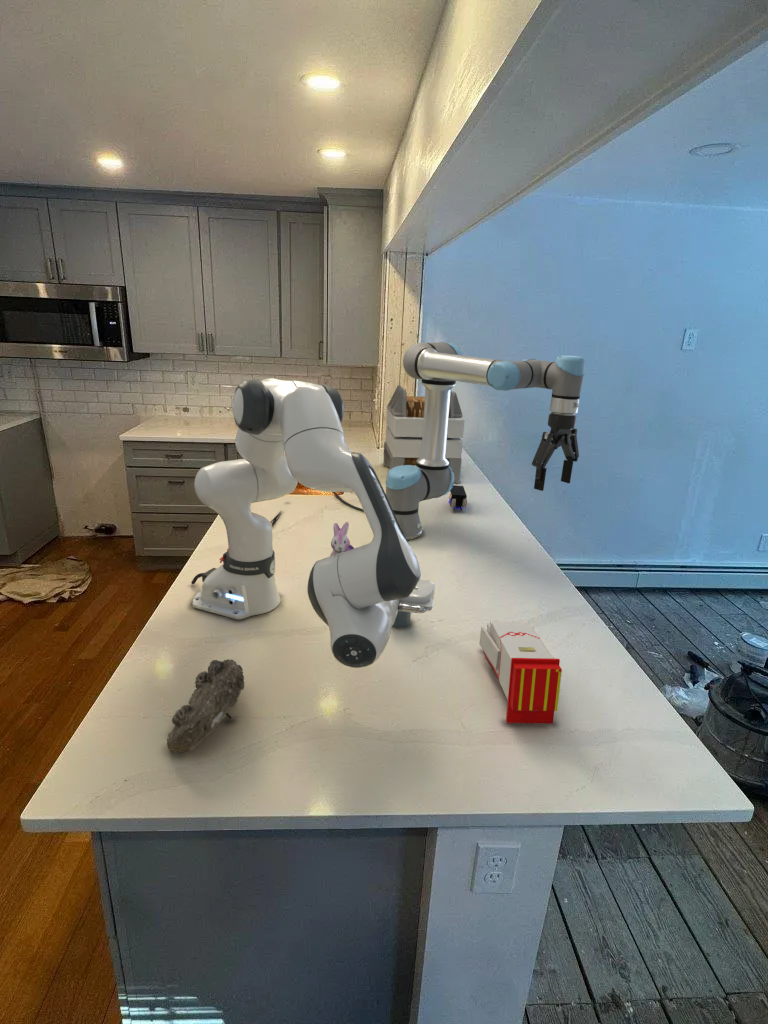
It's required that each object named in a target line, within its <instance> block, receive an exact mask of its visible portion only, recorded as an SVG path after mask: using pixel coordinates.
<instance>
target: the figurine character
mask: <svg viewBox="0 0 768 1024" xmlns="http://www.w3.org/2000/svg"><path fill="white" fill-rule="evenodd" d="M467 495H468V494H467V493H466V490H465V487H464V485H456V484H455V485H454V484H453V487H452V489H451V490H450V491H449V496H448V499H449V500H448V504H449V506H450V507H451V508H452V510H453V512H456V510H458V509H459V510H460V512H463V509H464V508H465V509H466V508H467V506H468V499H467V497H468V496H467Z"/></svg>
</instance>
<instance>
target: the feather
mask: <svg viewBox="0 0 768 1024" xmlns="http://www.w3.org/2000/svg"><path fill="white" fill-rule="evenodd" d="M281 512H282V510H280V512H279V513H277V514H276V516H275V517H273V519H272V520H271V521H269V522H270V523H271V526H272V527H274V525H275V523H276V521H277V520H278V518H279V516H280V514H281Z"/></svg>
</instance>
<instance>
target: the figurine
mask: <svg viewBox="0 0 768 1024" xmlns="http://www.w3.org/2000/svg"><path fill="white" fill-rule="evenodd" d="M349 526H350V523H349V521H346V522H345V523H343V525H342V527H341V528H340V526H339V524H338V522H334V523H333V537H332V538H331V541H330V547H331V549H332V551H331V553H330V556H332V555H335V554H338V553H341V552H346V551H349V550H352V549H355V547H354V546H353V545H352V544H351V541H350V539H349V537H348V531H349Z"/></svg>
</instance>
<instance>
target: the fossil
mask: <svg viewBox="0 0 768 1024" xmlns="http://www.w3.org/2000/svg"><path fill="white" fill-rule="evenodd" d="M243 670H244V669H243V667H242V665H240V664H237V662H236V661H235V660H234V659H232V658H231V659H227V658H226V659H224V660H223V661H222V660H217V659H212V660H211V661H210V663H209V665H208V666H207V671H201V672H199V673H198V674H197V675H196V676H195V680H194V684H195V685H194V687H195V689H194V690H193V693H192V694H191V697H190V698H189V700H188V704H184V705H182V706H181V707H180V709H177V710H176V711H175V713H174V715H173V716H172V718H171V723H172V724H173V727H172V730H171V731H170V732H168V734H167V738H166V741H167V742H166V745H167V749H168V750H169V751H173V752H174V753H176V754H178V753H182V752H188V751H189V752H192V751H193V750H195V748H196V747H197V746H199V744H200V743H201V742H203V741H204V740H205V739H206V738H207V737H208V736H209V735H210V734H211V733H212V732H214V730H215V729H217V727H218V726H219V724H220V722H221V721H222V720H223V719H224V718H225V716H226V717H227V719H229V720H233V717H232V715H230V714H229V710H230V709H231V708H234V706H235V704H236V703H237V702H238V699H239V697H240V695H241V693H242V691H243V690H245V689H244V688H245V675H244V671H243Z"/></svg>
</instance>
